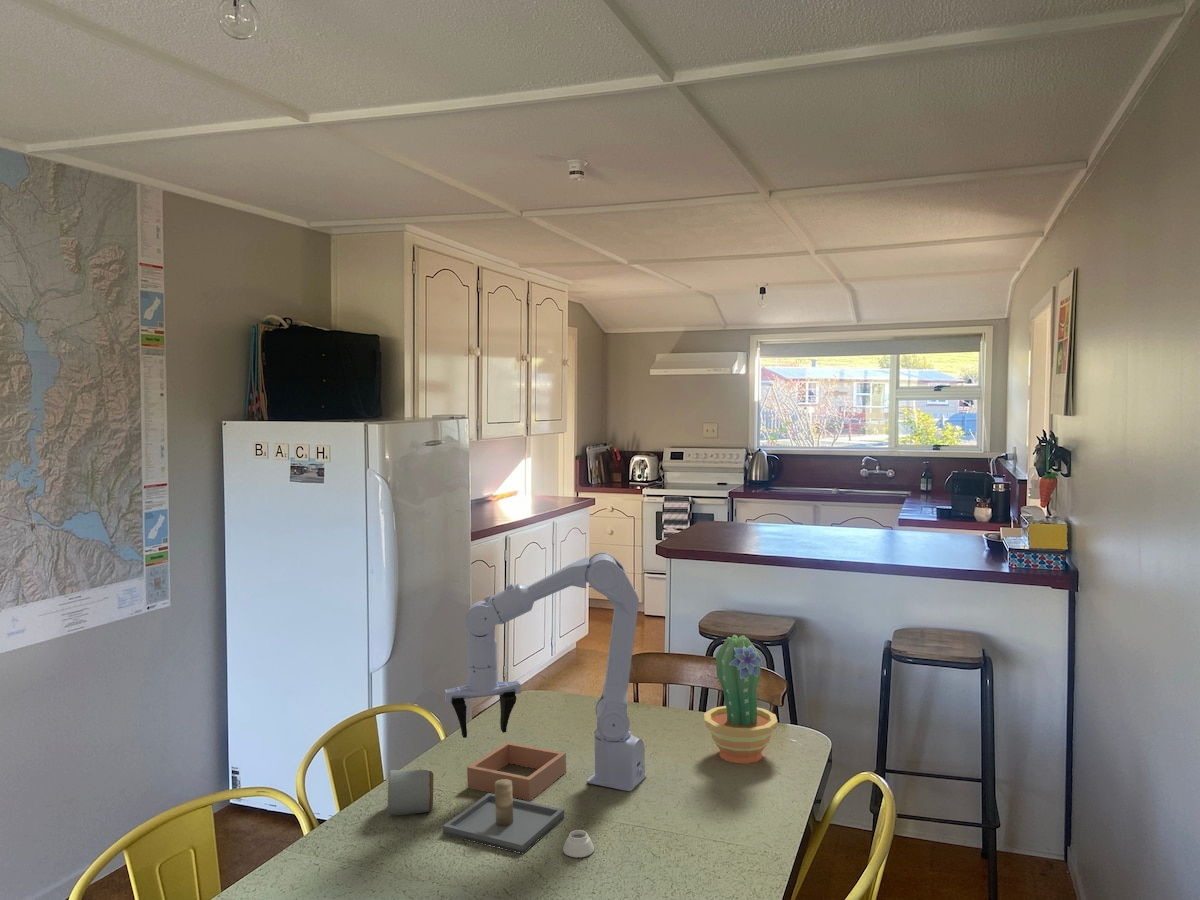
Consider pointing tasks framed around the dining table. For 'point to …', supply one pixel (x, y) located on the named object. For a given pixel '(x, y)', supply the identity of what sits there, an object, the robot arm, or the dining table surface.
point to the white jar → (578, 844)
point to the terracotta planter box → (523, 787)
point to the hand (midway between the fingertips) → (484, 733)
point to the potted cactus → (739, 704)
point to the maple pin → (504, 802)
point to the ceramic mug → (410, 791)
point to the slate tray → (515, 837)
